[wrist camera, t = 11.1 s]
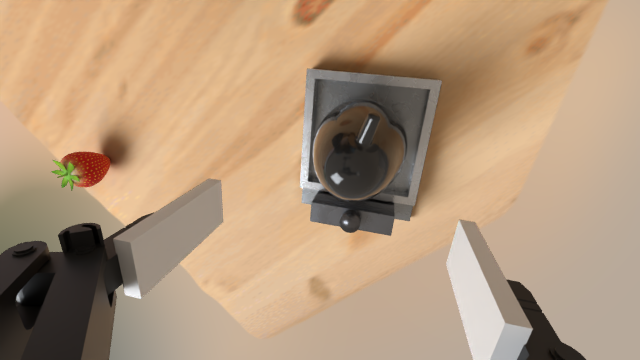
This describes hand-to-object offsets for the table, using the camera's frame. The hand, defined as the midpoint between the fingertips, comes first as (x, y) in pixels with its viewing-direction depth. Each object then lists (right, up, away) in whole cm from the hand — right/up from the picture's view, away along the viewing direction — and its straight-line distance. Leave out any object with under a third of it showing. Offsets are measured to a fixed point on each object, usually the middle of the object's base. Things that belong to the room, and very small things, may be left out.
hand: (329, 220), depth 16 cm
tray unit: (+5, +7, +22) cm, 24 cm away
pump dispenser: (+5, +8, +21) cm, 23 cm away
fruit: (-35, +5, +33) cm, 49 cm away
